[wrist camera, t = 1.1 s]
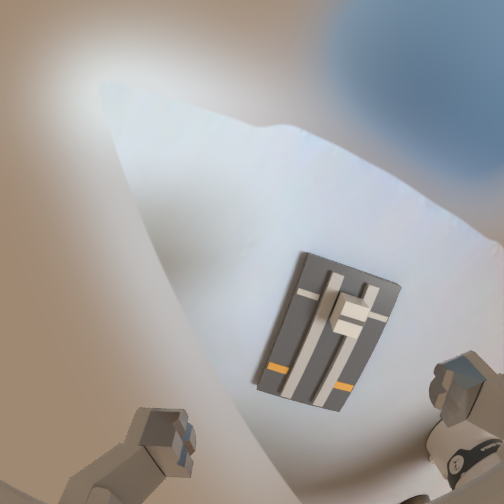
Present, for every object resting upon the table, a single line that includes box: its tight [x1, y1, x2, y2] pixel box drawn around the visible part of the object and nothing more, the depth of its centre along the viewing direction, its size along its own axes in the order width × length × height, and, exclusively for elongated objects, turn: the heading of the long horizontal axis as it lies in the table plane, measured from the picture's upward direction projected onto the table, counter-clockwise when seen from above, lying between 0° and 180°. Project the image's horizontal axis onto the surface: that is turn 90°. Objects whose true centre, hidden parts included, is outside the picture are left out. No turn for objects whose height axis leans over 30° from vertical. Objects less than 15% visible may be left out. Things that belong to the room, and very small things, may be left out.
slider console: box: [256, 253, 401, 412], centre depth 39 cm, size 14×22×3 cm, turn 162°
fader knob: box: [330, 292, 370, 339], centre depth 35 cm, size 3×4×5 cm
